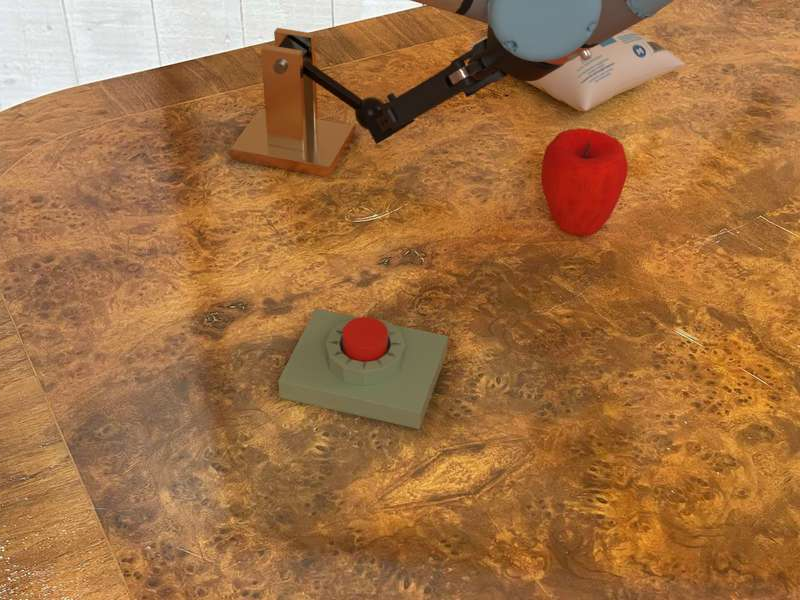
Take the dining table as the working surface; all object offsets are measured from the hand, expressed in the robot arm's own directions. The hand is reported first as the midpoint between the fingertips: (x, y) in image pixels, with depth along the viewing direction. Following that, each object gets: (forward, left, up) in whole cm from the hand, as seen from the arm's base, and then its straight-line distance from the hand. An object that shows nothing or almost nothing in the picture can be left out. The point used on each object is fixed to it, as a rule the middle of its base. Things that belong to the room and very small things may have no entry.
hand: (419, 107), depth 113 cm
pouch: (+13, +28, -10) cm, 33 cm away
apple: (+18, -2, -10) cm, 21 cm away
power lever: (-12, +3, -3) cm, 12 cm away
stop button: (+3, -30, -7) cm, 31 cm away
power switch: (-16, +3, -10) cm, 19 cm away
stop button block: (+3, -30, -10) cm, 32 cm away
